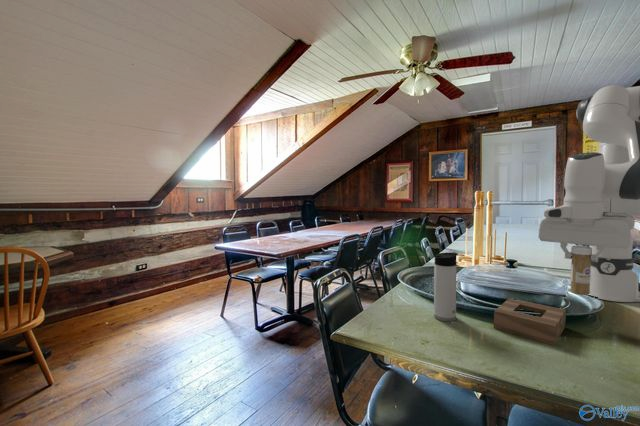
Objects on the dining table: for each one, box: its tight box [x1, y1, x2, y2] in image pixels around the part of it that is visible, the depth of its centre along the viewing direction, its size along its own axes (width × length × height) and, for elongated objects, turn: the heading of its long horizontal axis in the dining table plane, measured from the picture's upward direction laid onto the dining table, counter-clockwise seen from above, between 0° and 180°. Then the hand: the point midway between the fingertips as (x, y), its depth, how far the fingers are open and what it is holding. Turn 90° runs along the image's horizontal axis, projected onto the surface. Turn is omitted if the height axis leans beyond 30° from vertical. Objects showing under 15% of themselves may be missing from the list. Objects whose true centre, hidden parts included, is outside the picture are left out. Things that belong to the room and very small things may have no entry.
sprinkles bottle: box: [569, 245, 592, 296], centre depth 91 cm, size 5×5×13 cm
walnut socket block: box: [493, 298, 567, 346], centre depth 89 cm, size 14×14×5 cm
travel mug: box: [433, 252, 459, 322], centre depth 97 cm, size 6×7×20 cm
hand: (581, 259), depth 91 cm, fingers closed on sprinkles bottle, 4 cm apart
